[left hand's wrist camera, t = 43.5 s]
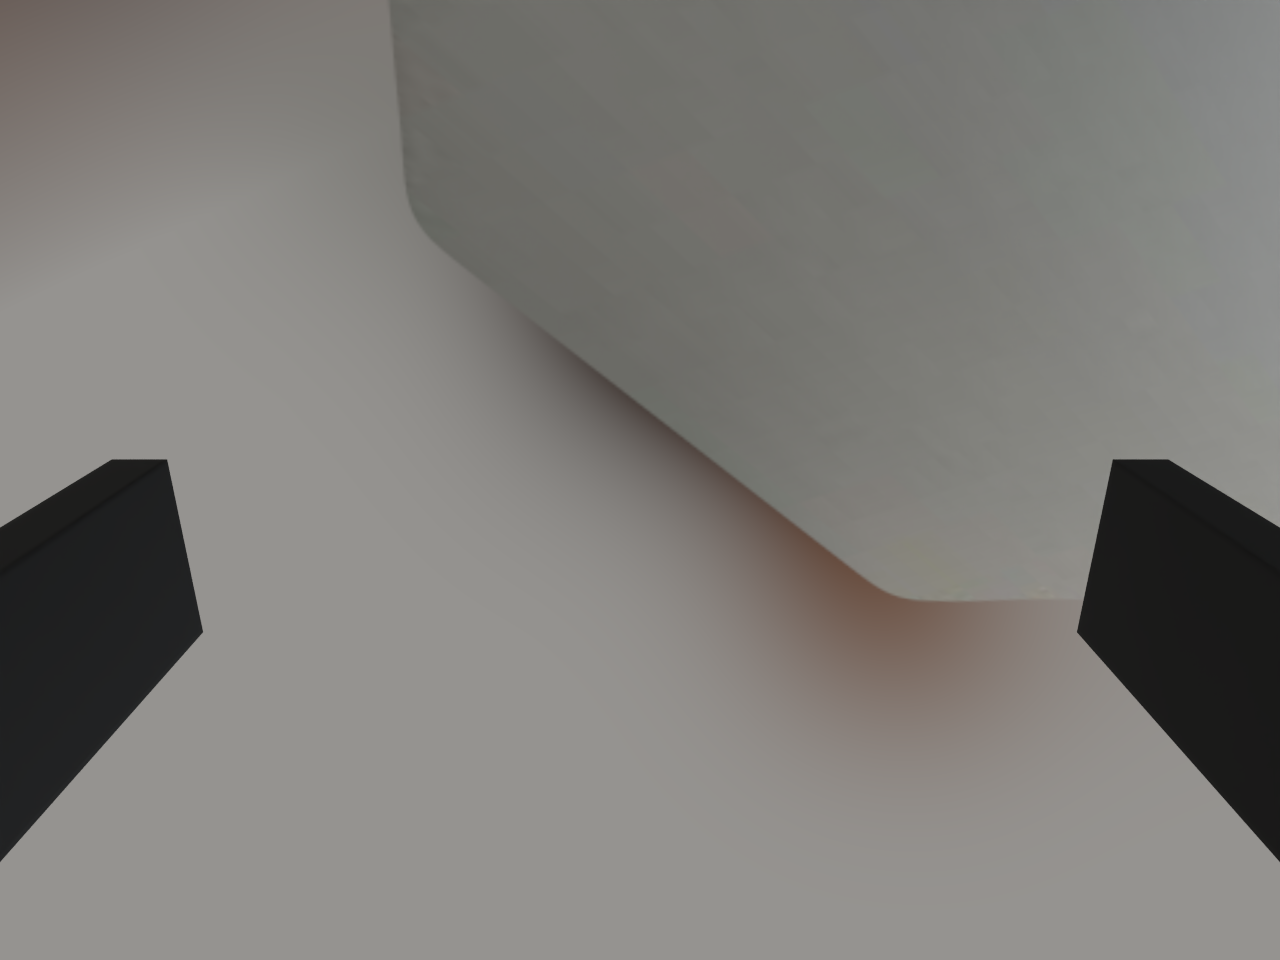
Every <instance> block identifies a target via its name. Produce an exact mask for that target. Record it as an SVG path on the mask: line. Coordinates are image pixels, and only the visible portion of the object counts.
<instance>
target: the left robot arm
mask: <svg viewBox="0 0 1280 960" xmlns="http://www.w3.org/2000/svg"><path fill="white" fill-rule="evenodd" d="M202 633H203V630H202V625H201V620H200V615H199V611H198V606H197V601H196V596H195V591H194V587H193V582H192V577H191V572H190V567H189V563H188V558H187V553H186V548H185V544H184V539H183V534H182V529H181V524H180V519H179V515H178V510H177V505H176V500H175V496H174V491H173V486H172V481H171V476H170V472H169V467H168V462H167V460H110V461H109V462H107V463H105V464H104V465H102V466H101V467H99V468H97V469H96V470H94V471H92V472H91V473H89V474H87V475H86V476H84V477H83V478H81V479H79V480H77V481H76V482H74V483H73V484H71V485H69V486H68V487H66V488H64V489H63V490H61V491H59V492H58V493H56V494H55V495H53V496H51V497H50V498H48V499H46V500H45V501H43V502H41V503H40V504H38V505H37V506H35V507H33V508H32V509H30V510H28V511H27V512H25V513H23V514H22V515H20V516H19V517H17V518H15V519H14V520H12V521H10V522H9V523H7V524H5V525H4V526H2V527H0V861H1V860H2V859H3V858H4V857H5V856H6V855H7V853H8V852H9V851H10V850H11V849H12V848H13V847H14V846H15V844H16V843H17V842H18V841H19V840H20V839H21V838H22V837H23V835H24V834H25V833H26V832H27V831H28V830H29V829H30V827H31V826H32V825H33V824H34V823H35V822H36V821H37V819H38V818H39V817H40V816H41V815H42V814H43V813H44V812H45V810H46V809H47V808H48V807H49V806H50V805H51V804H52V803H53V801H54V800H55V799H56V798H57V797H58V796H59V795H60V793H61V792H62V791H63V790H64V789H65V788H66V787H67V786H68V784H69V783H70V782H71V781H72V780H73V779H74V778H75V776H76V775H77V774H78V773H79V772H80V771H81V770H82V769H83V767H84V766H85V765H86V764H87V763H88V762H89V761H90V759H91V758H92V757H93V756H94V755H95V754H96V753H97V752H98V750H99V749H100V748H101V747H102V746H103V745H104V744H105V743H106V741H107V740H108V739H109V738H110V737H111V736H112V735H113V733H114V732H115V731H116V730H117V729H118V728H119V727H120V726H121V724H122V723H123V722H124V721H125V720H126V719H127V718H128V716H129V715H130V714H131V713H132V712H133V711H134V710H135V709H136V707H137V706H138V705H139V704H140V703H141V702H142V701H143V699H144V698H145V697H146V696H147V695H148V694H149V693H150V692H151V690H152V689H153V688H154V687H155V686H156V685H157V684H158V682H159V681H160V680H161V679H162V678H163V677H164V676H165V675H166V673H167V672H168V671H169V670H170V669H171V668H172V667H173V666H174V664H175V663H176V662H177V661H178V660H179V659H180V658H181V656H182V655H183V654H184V653H185V652H186V651H187V650H188V649H189V647H190V646H191V645H192V644H193V643H194V642H195V641H196V639H197V638H198V637H199V636H200V635H201V634H202ZM1077 633H1078V634H1079V635H1080V636H1081V637H1082V638H1083V639H1084V641H1085V642H1086V643H1087V644H1088V645H1089V646H1090V647H1091V649H1092V650H1093V651H1094V652H1095V653H1096V654H1097V655H1098V656H1099V658H1100V659H1101V660H1102V661H1103V662H1104V663H1105V664H1106V666H1107V667H1108V668H1109V669H1110V670H1111V671H1112V672H1113V673H1114V675H1115V676H1116V677H1117V678H1118V679H1119V680H1120V681H1121V682H1122V684H1123V685H1124V686H1125V687H1126V688H1127V689H1128V690H1129V692H1130V693H1131V694H1132V695H1133V696H1134V697H1135V698H1136V699H1137V701H1138V702H1139V703H1140V704H1141V705H1142V706H1143V707H1144V709H1145V710H1146V711H1147V712H1148V713H1149V714H1150V715H1151V716H1152V718H1153V719H1154V720H1155V721H1156V722H1157V723H1158V724H1159V726H1160V727H1161V728H1162V729H1163V730H1164V731H1165V732H1166V733H1167V735H1168V736H1169V737H1170V738H1171V739H1172V740H1173V741H1174V742H1175V744H1176V745H1177V746H1178V747H1179V748H1180V749H1181V750H1182V752H1183V753H1184V754H1185V755H1186V756H1187V757H1188V758H1189V759H1190V761H1191V762H1192V763H1193V764H1194V765H1195V766H1196V767H1197V769H1198V770H1199V771H1200V772H1201V773H1202V774H1203V775H1204V776H1205V778H1206V779H1207V780H1208V781H1209V782H1210V783H1211V784H1212V786H1213V787H1214V788H1215V789H1216V790H1217V791H1218V792H1219V793H1220V795H1221V796H1222V797H1223V798H1224V799H1225V800H1226V801H1227V803H1228V804H1229V805H1230V806H1231V807H1232V808H1233V809H1234V810H1235V812H1236V813H1237V814H1238V815H1239V816H1240V817H1241V818H1242V820H1243V821H1244V822H1245V823H1246V824H1247V825H1248V826H1249V827H1250V829H1251V830H1252V831H1253V832H1254V833H1255V834H1256V835H1257V837H1258V838H1259V839H1260V840H1261V841H1262V842H1263V843H1264V844H1265V846H1266V847H1267V848H1268V849H1269V850H1270V851H1271V852H1272V853H1273V855H1274V856H1275V857H1276V858H1277V859H1278V860H1279V861H1280V527H1278V526H1276V525H1275V524H1273V523H1271V522H1270V521H1268V520H1266V519H1265V518H1263V517H1262V516H1260V515H1258V514H1257V513H1255V512H1253V511H1252V510H1250V509H1248V508H1247V507H1245V506H1243V505H1242V504H1240V503H1239V502H1237V501H1235V500H1234V499H1232V498H1230V497H1229V496H1227V495H1225V494H1224V493H1222V492H1221V491H1219V490H1217V489H1216V488H1214V487H1212V486H1211V485H1209V484H1207V483H1206V482H1204V481H1203V480H1201V479H1199V478H1198V477H1196V476H1194V475H1193V474H1191V473H1189V472H1188V471H1186V470H1184V469H1183V468H1181V467H1180V466H1178V465H1176V464H1175V463H1173V462H1171V461H1170V460H1113V462H1112V467H1111V471H1110V476H1109V481H1108V486H1107V491H1106V495H1105V500H1104V505H1103V510H1102V515H1101V519H1100V524H1099V529H1098V534H1097V539H1096V543H1095V548H1094V553H1093V558H1092V563H1091V567H1090V572H1089V577H1088V582H1087V587H1086V591H1085V596H1084V601H1083V606H1082V611H1081V615H1080V620H1079V625H1078V630H1077Z"/></svg>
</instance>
